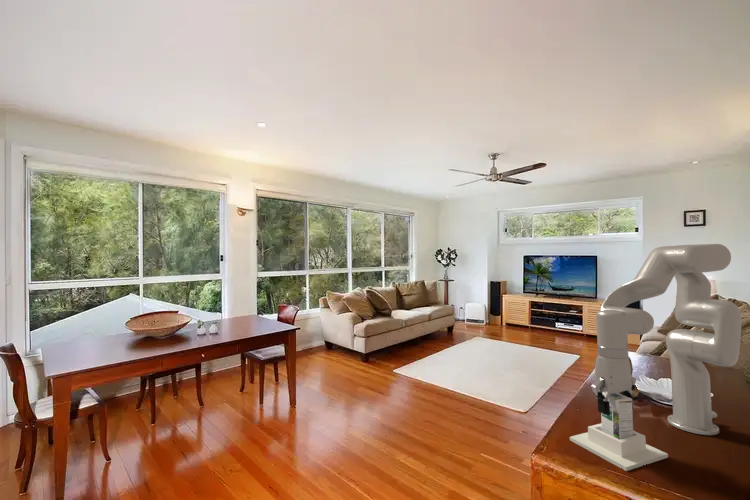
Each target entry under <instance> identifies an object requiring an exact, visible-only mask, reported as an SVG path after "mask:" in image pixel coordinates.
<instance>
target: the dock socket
mask: <svg viewBox="0 0 750 500" xmlns="http://www.w3.org/2000/svg"><path fill="white" fill-rule="evenodd" d="M569 441H571V442H573V443H574V444H576V445H578V446H580V447H581V448H583V449H586V450H587V451H588V452H591V453H592V454H595V455H596V456H598V457H599V458H602V459H603V460H605V461H607V462H608V463H610V464H613V465H614V466H615V467H618V468H619V469H621V468H622V469H621V470H624V471H626V472H628V471H631V470H634V469H638V468H640V467H643V465H644V466H646V464H647V465H649V464H652V463H655V462H658V461H662V460H665V459H668V458H669V454H668V453H667V452H665V451H662V450H660V449H658V448H656V447H654V446H652V445H649V444H647V441H646V435H645V434H642V433H640V432H637V431H635V430H633V436H632V437H628V438H624V439H621V440H619V439H617V438H615V437H613V436H611V435H609V434H607V433H604V432H602V422H600V423H597V424H593V425H589V426H587V432H582V433H579V434H575V435H572V436H569Z"/></svg>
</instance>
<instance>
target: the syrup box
mask: <svg viewBox="0 0 750 500" xmlns="http://www.w3.org/2000/svg"><path fill="white" fill-rule="evenodd" d="M602 394H603V395H605V392H603V393H602ZM607 401H609V404H610V415H605V414H603V413H601V412H600V413H601V415H600V416H601V417H600V418H601V423H602V432H604V433H607V434H609V435H611V436H613V437H615V438H617V439H619V440H621V439H624V438H628V437H632V436H633V431H634V422H633V421H634V418H633V417H634V416H633V415H634V414H633V409H632V398H629V397H626V396H624V395H622V394H620V393H614V394H610V396H609V398H608V400H607Z"/></svg>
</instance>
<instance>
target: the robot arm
mask: <svg viewBox="0 0 750 500" xmlns="http://www.w3.org/2000/svg"><path fill="white" fill-rule="evenodd" d="M731 254H732V253H731V252H730V250H729V248H728V247H727V246H726V245H724V244H721V243H704V244H678V245H667V246H659V247H655V248H654V249H652V250H651V251H650V253H649V254H648V256H647V257H646V259H645V261H644V262H643V263H642V266H641V267H640V269H639V271H637V273H636V275H635V277H634V278H633V279H631V280H630V281H628V282H625V283H624V284H622V285H620V286H619V287H617V288H615V289H614V290H612V291H611V292H610V293H609V294H608V295H607V296H606V298H605V300H603V302H602V304H601V306H600V308H599V310H598V311H597V312H596V314H595V315H596V316H595V320H596V324H595V325H596V340H597V356H596V359H595V366H594V367H595V368H594V383H593V384H591V389H592V392H593V396H595V398H596V399H597V410H598V413H603V414H605V415H610V404H609V401H607V400H608V398H609V396H610V394H614V393H619V392H620V393H621V394H622V395H624V396H626V397H629V398H632V410H633V409H634V401H633V400H634V397H633V396H631V395H634V392H633V390H634V389H635V385H636V381H637V378H636V377H634V376H633V374H632V375H631V367H630V362H629V357H630V356H629V343H628V342H629V341H628V335H638V336H639V335H645V334H648V333H650V332H651V331H652V330H653V328H654V325H655V321H654V318H653V315H651V314H650V313H649V312H648V311H646V310H644V309H641V308H640V309H639V308H632V307H627V306H629V305H630V304H633V303H637V302H638V301H643V300H648V299H652V298H655V297H658V296H662V295H663V294H665V292H667V289H668V288H669V287H670V284H671V283H672V281H673V279H674V278H675V280H676V281H675V282H676V296H675V308H674V317H675V320H676V321H677V322H678V323H680V324H682V325H685V326H690V327H696V328H702V329H709V330H713V331H714V333H711V332H705V331H699V330H693V329H685V328H677V329H672V330H670V331H669V332H668V333H667V335H666V337H665V345H666V349H667V353H668V357H669V361H670V362H669V363H670V372H671V373H670V374H671V396H672V397H671V398H672V399H671V400H672V414H670V415H668V416H667V422H668V423H669V424H670V425H671V426H673V427H675V428H676V429H679V430H682V431H686V432H688V433H692V434H696V435H702V436H715V435H718V434H720V427H719V426H717V424H715V423H713V419H714V418H717V417H718V414H717V412H715V411H713V410H712V393H711V375H710V373H709V370H708V368H707V367H706V366H705V364H710V365H714V366H715V365H716V366H719V367H720V366H721V367H732V366H735V365H736V363H737V362H738V360H739V357H740V352H741V351H740V348H741V335H742V319H743V318H742V312H741V311H740V309H739V306H738V305H737V304H735V303H734V302H732V301H730V300H725V299H715V298H714V299H713V298H711V297H712V295H711V294H712V284H711V282H710V280H709V279H708V277H707V276H706V275H705V274H704V273H711V272H718V271H723V270H725V269H727V267H729V265H730V264H731V261H732V255H731ZM704 363H705V364H704ZM603 392H605V395H603V394H602V393H603ZM622 392H623V393H622Z"/></svg>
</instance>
